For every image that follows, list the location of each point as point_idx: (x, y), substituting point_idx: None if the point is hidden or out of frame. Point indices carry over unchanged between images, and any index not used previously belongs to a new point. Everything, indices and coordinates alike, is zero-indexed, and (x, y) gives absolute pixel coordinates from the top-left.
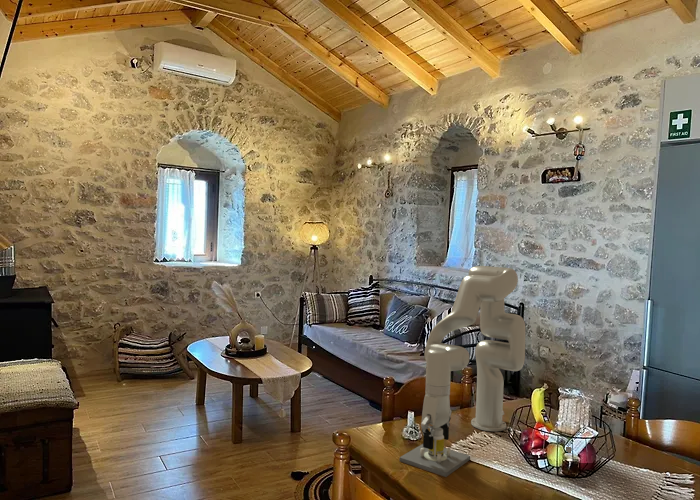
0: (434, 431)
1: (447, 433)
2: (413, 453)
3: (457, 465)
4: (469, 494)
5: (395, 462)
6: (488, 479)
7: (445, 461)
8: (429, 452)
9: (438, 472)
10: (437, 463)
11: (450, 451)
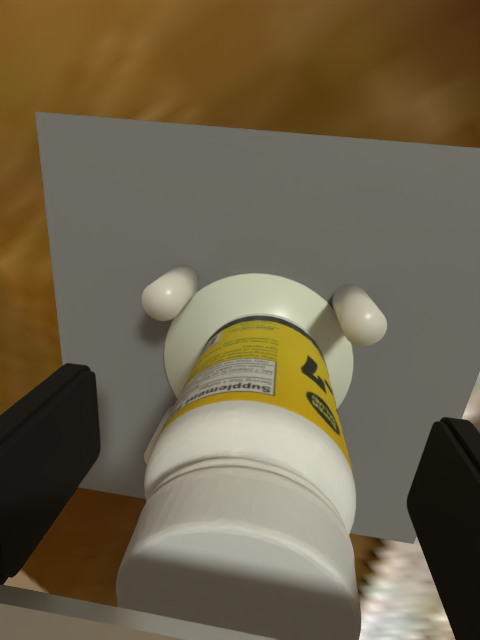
0: (117, 603)
1: (439, 580)
2: (196, 184)
3: None
4: (26, 575)
5: (15, 102)
6: None
7: None
8: (201, 351)
9: None
10: (156, 413)
11: None
